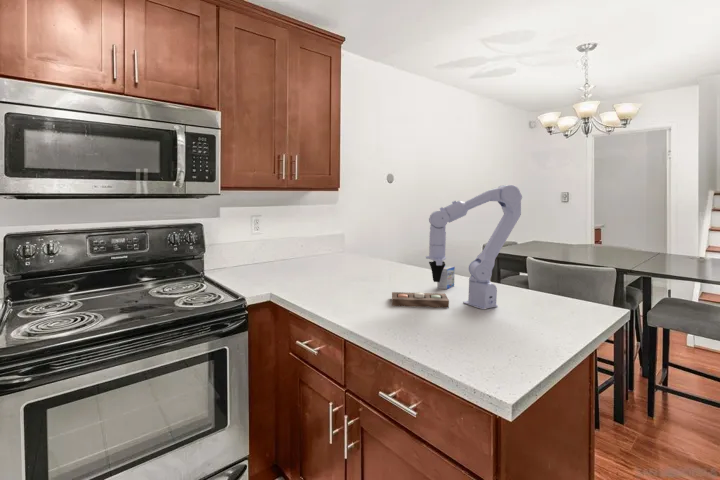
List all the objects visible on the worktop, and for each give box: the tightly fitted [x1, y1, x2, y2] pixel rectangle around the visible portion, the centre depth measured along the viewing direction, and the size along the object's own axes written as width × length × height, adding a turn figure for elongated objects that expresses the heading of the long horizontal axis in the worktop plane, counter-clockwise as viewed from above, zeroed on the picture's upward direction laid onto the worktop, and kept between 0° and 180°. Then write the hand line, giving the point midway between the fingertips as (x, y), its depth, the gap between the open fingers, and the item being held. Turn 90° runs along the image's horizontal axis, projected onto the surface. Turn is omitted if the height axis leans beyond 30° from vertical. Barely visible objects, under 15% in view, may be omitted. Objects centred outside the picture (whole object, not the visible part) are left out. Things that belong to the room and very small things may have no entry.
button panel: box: [391, 291, 450, 309], centre depth 144 cm, size 20×10×2 cm, turn 85°
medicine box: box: [436, 265, 456, 290], centre depth 169 cm, size 8×4×9 cm, turn 143°
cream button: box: [413, 291, 425, 298], centre depth 144 cm, size 4×4×2 cm
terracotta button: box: [398, 294, 408, 298], centre depth 145 cm, size 4×4×2 cm
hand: (436, 281), depth 143 cm, fingers closed
